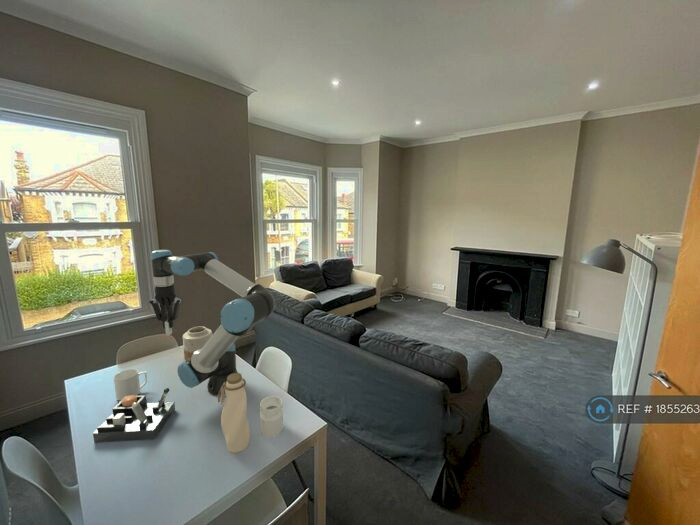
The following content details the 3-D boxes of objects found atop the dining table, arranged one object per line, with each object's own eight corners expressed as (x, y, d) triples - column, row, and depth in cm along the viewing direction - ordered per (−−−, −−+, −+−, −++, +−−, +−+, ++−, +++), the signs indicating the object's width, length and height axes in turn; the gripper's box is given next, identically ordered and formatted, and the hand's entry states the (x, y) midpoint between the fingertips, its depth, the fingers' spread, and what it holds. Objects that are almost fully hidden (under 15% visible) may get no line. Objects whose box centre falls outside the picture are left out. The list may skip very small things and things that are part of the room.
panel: (175, 409, 125) (174, 393, 123) (154, 439, 108) (152, 421, 107) (123, 411, 122) (121, 396, 121) (94, 442, 106) (91, 425, 105)
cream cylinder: (259, 424, 117) (258, 398, 115) (280, 419, 120) (280, 393, 118) (261, 440, 109) (260, 412, 107) (284, 433, 113) (284, 406, 110)
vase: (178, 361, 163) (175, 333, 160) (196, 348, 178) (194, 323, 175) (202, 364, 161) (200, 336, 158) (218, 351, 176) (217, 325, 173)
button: (140, 403, 121) (139, 394, 120) (133, 411, 116) (131, 402, 115) (127, 403, 120) (126, 395, 119) (120, 411, 115) (119, 403, 115)
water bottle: (222, 459, 100) (217, 388, 95) (220, 441, 108) (215, 374, 103) (252, 449, 105) (249, 380, 100) (248, 432, 113) (245, 367, 108)
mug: (117, 405, 126) (114, 382, 124) (115, 395, 133) (112, 373, 131) (150, 393, 134) (147, 372, 132) (146, 385, 141) (144, 364, 139)
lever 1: (148, 417, 112) (138, 399, 110) (144, 422, 109) (134, 404, 107) (144, 419, 112) (133, 401, 110) (139, 424, 109) (128, 406, 107)
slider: (125, 422, 111) (124, 413, 110) (120, 427, 108) (119, 418, 108) (118, 422, 111) (117, 413, 110) (113, 428, 108) (112, 418, 107)
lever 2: (164, 403, 121) (171, 387, 120) (160, 408, 118) (168, 391, 117) (159, 402, 120) (166, 385, 119) (155, 406, 118) (163, 389, 117)
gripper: (183, 282, 131) (187, 330, 136) (153, 282, 130) (158, 331, 134) (175, 286, 124) (180, 337, 128) (143, 286, 123) (149, 338, 127)
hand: (169, 334), depth 131 cm, fingers closed
